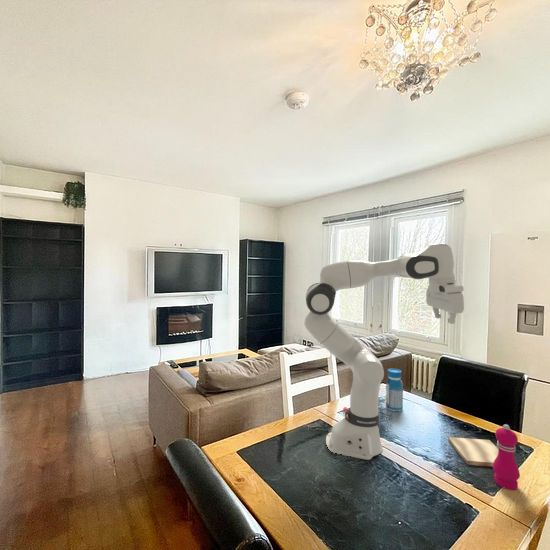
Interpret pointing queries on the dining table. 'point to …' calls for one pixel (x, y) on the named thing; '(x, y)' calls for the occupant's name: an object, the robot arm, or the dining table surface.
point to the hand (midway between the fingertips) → (444, 320)
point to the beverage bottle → (394, 390)
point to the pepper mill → (506, 459)
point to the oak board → (475, 450)
